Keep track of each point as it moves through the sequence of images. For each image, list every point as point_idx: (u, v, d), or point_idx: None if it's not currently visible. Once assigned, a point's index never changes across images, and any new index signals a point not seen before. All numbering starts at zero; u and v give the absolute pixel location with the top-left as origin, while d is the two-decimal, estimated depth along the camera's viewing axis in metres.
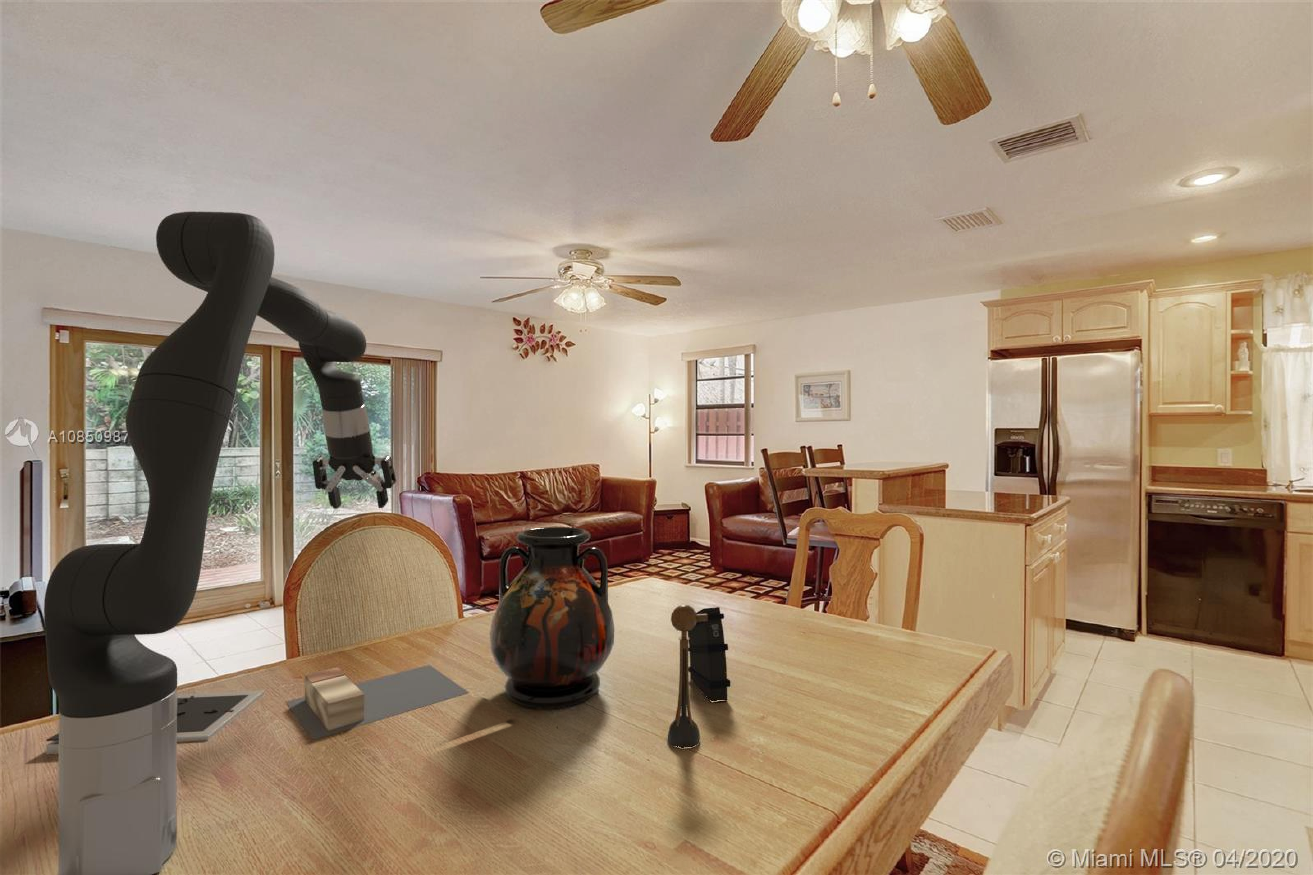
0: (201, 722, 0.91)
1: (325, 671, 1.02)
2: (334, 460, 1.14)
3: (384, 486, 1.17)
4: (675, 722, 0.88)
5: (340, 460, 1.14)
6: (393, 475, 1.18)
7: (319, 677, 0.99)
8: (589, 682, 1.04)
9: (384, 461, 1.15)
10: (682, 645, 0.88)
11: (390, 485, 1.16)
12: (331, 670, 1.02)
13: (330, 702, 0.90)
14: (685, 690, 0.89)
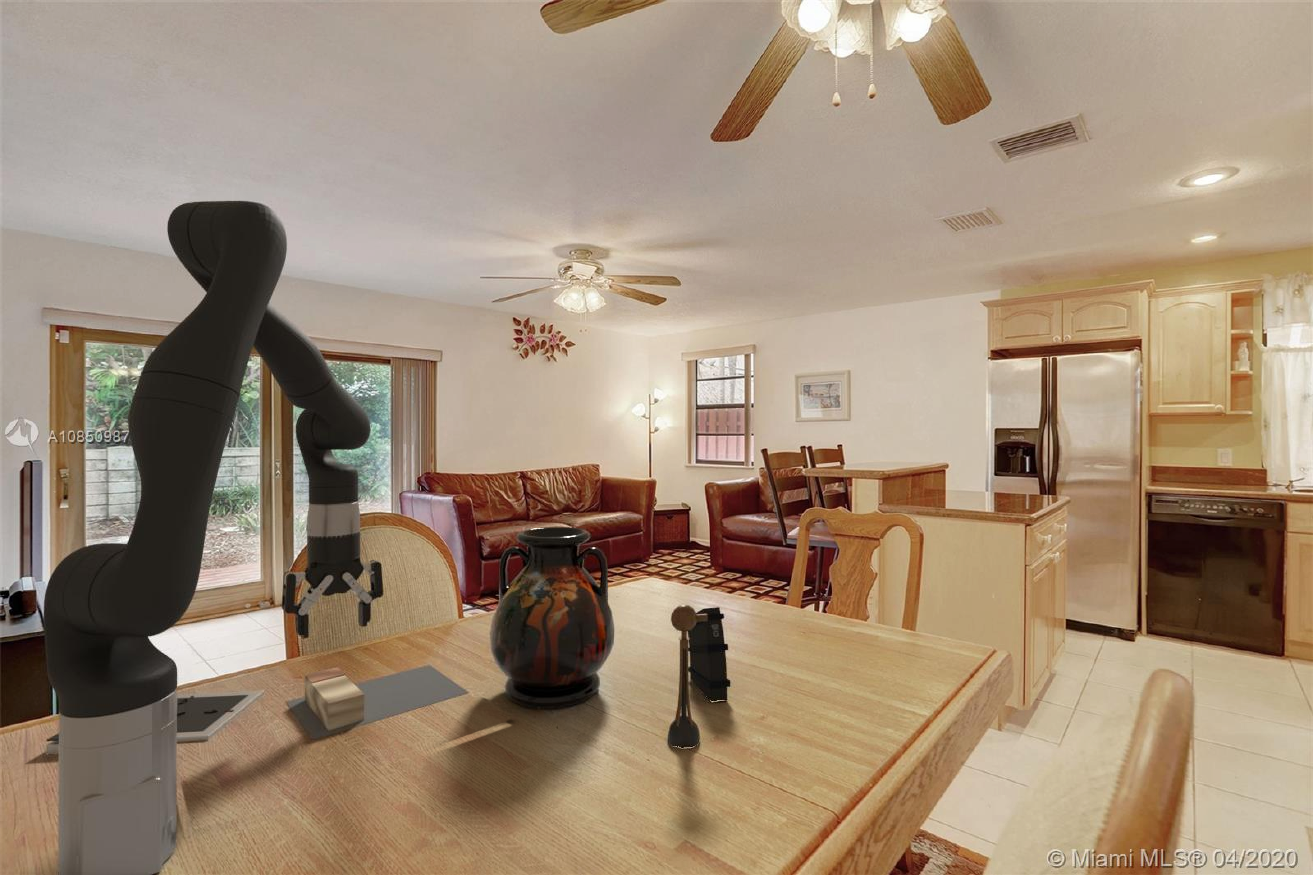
0: (201, 722, 0.91)
1: (325, 671, 1.02)
2: (316, 570, 0.94)
3: (372, 596, 1.00)
4: (675, 722, 0.88)
5: (324, 569, 0.95)
6: None
7: (319, 677, 0.99)
8: (589, 682, 1.04)
9: (378, 563, 1.00)
10: (682, 645, 0.88)
11: (381, 593, 1.01)
12: (331, 670, 1.02)
13: (330, 702, 0.90)
14: (685, 690, 0.89)
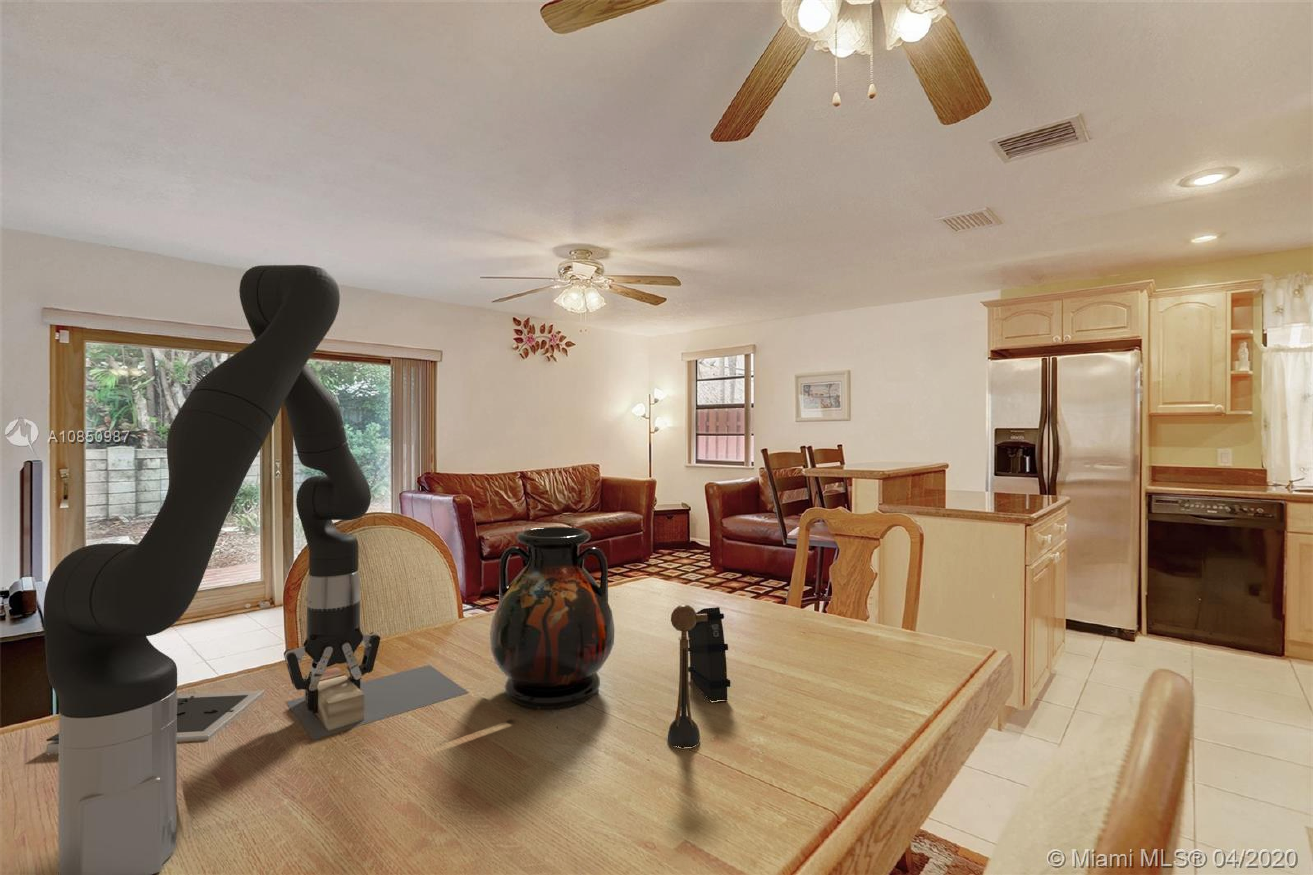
0: (201, 722, 0.91)
1: (325, 671, 1.02)
2: (314, 642, 0.94)
3: (361, 672, 0.99)
4: (675, 722, 0.88)
5: (324, 641, 0.95)
6: None
7: None
8: (589, 682, 1.04)
9: (378, 637, 1.00)
10: (682, 645, 0.88)
11: (371, 668, 0.99)
12: (331, 670, 1.02)
13: (330, 702, 0.90)
14: (685, 690, 0.89)
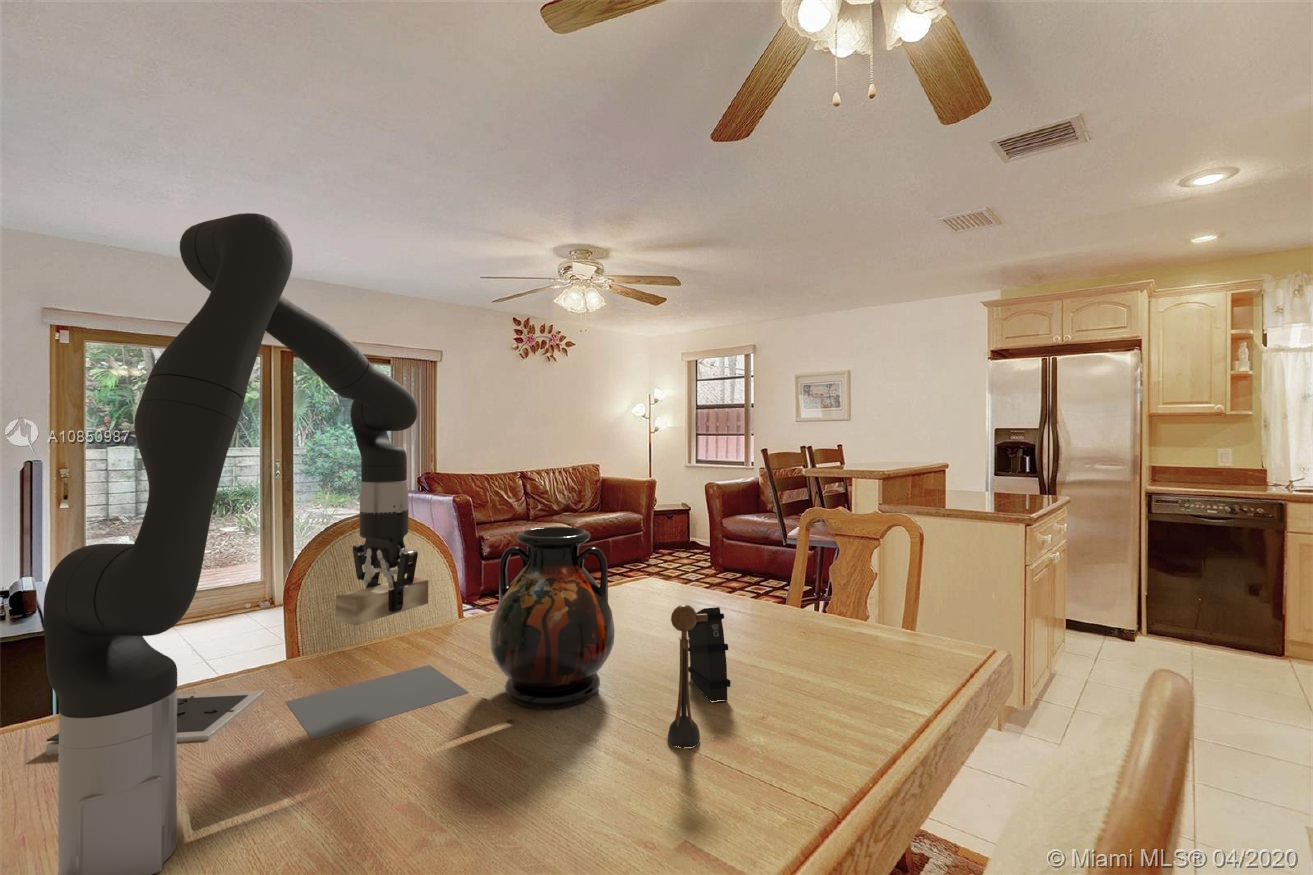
0: (201, 722, 0.91)
1: (417, 579, 1.07)
2: (367, 541, 1.02)
3: None
4: (675, 722, 0.88)
5: (372, 542, 1.02)
6: (411, 575, 1.00)
7: None
8: (589, 682, 1.04)
9: (403, 555, 0.98)
10: (682, 645, 0.89)
11: (399, 584, 0.98)
12: (419, 579, 1.07)
13: (339, 595, 0.97)
14: (685, 690, 0.89)
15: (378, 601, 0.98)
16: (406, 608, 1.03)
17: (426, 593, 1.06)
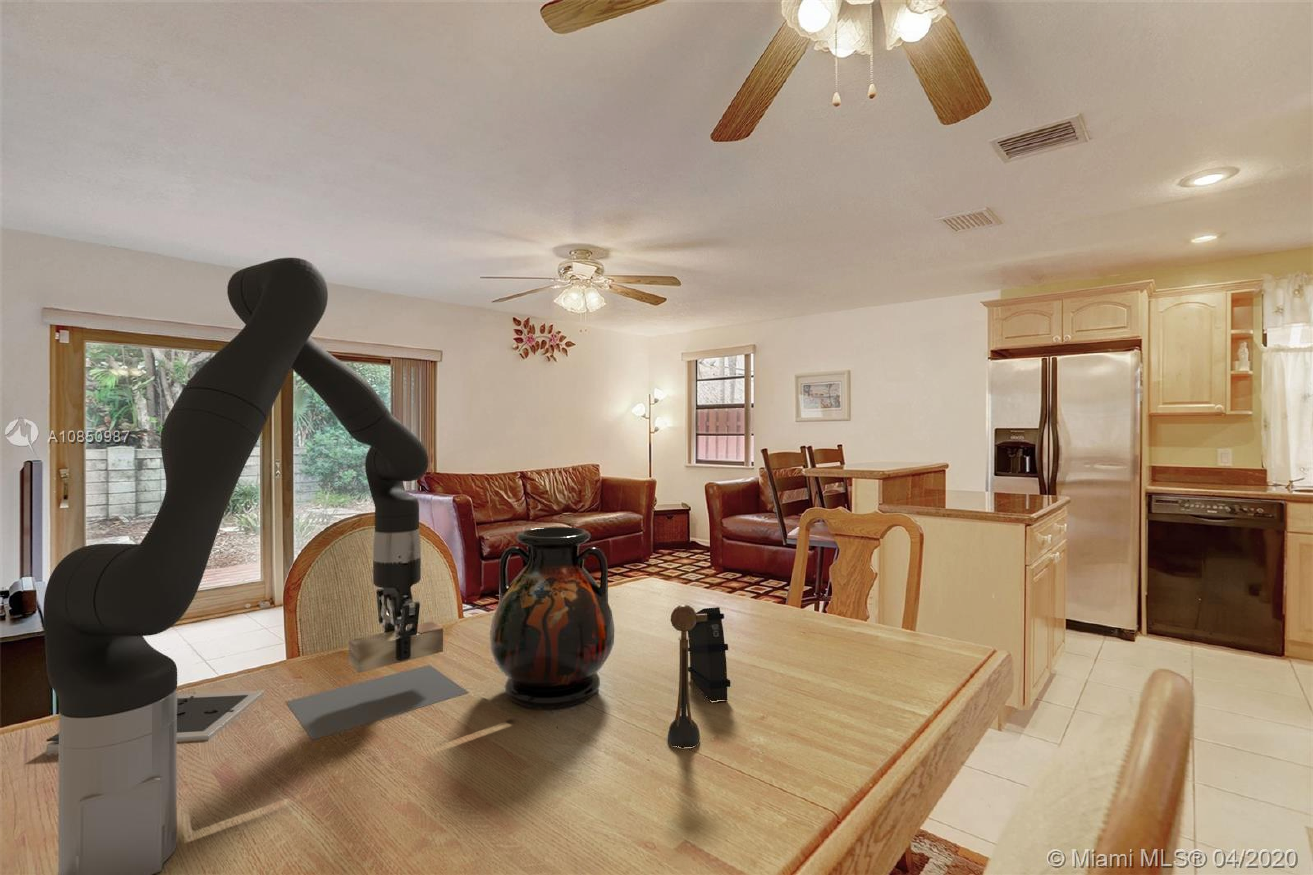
0: (201, 722, 0.91)
1: (434, 625, 1.08)
2: (384, 587, 1.05)
3: None
4: (675, 722, 0.88)
5: (387, 589, 1.04)
6: (415, 626, 1.00)
7: (419, 626, 1.07)
8: (589, 682, 1.04)
9: (403, 606, 0.98)
10: (682, 645, 0.88)
11: (401, 634, 0.99)
12: (435, 627, 1.07)
13: (351, 640, 1.01)
14: (685, 690, 0.89)
15: (384, 650, 1.00)
16: (416, 656, 1.04)
17: (440, 641, 1.06)
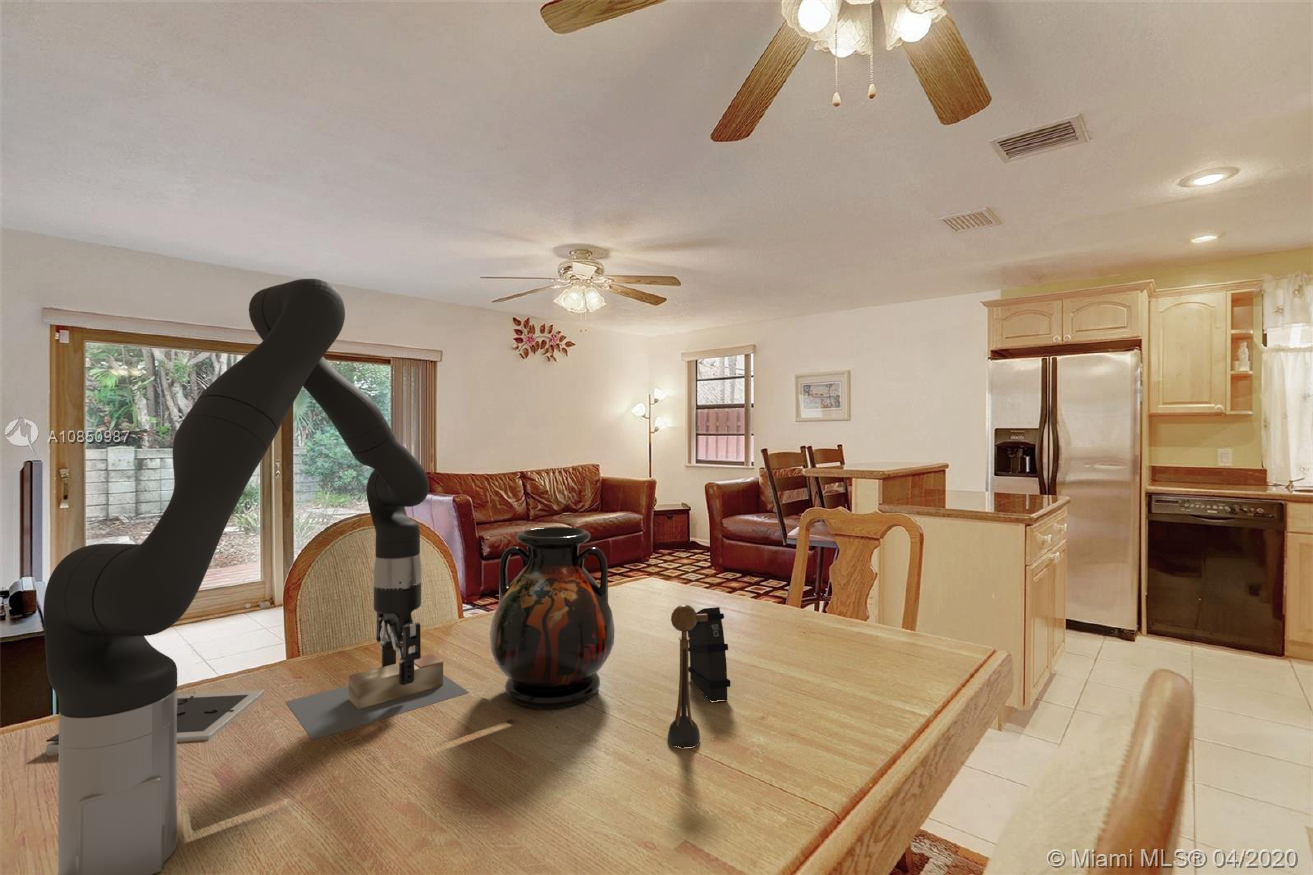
0: (201, 722, 0.91)
1: (434, 659, 1.07)
2: None
3: None
4: (675, 722, 0.88)
5: (387, 614, 1.04)
6: (417, 648, 0.99)
7: (419, 659, 1.07)
8: (589, 682, 1.04)
9: (404, 627, 0.98)
10: (683, 645, 0.88)
11: (405, 659, 0.98)
12: (435, 660, 1.07)
13: (351, 675, 1.01)
14: (685, 690, 0.89)
15: (384, 685, 1.00)
16: (416, 690, 1.03)
17: (440, 675, 1.06)
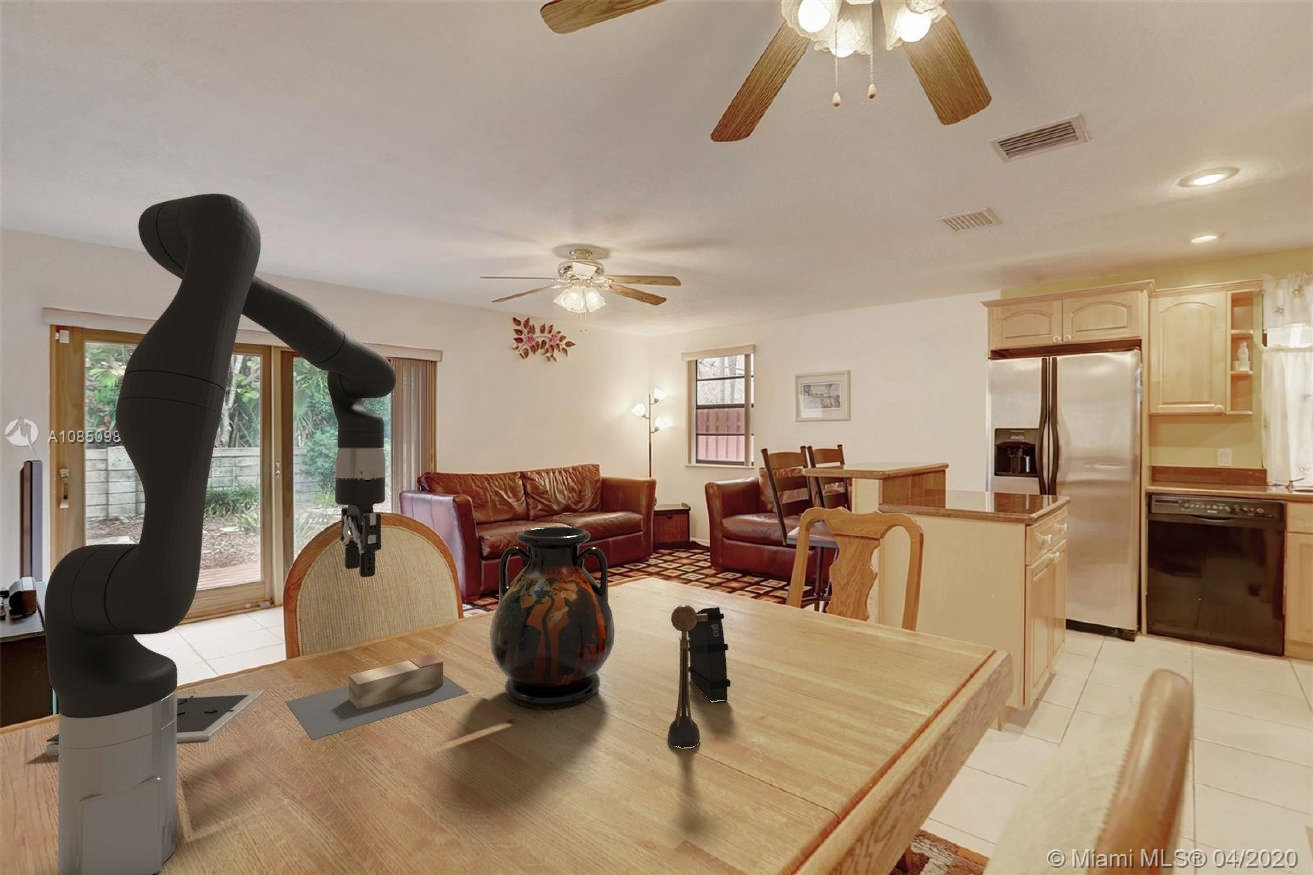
0: (201, 722, 0.91)
1: (434, 659, 1.07)
2: (348, 509, 1.02)
3: None
4: (675, 722, 0.88)
5: (350, 510, 1.02)
6: (378, 538, 0.96)
7: (419, 659, 1.07)
8: (589, 682, 1.04)
9: (363, 515, 0.95)
10: (683, 645, 0.88)
11: (364, 547, 0.95)
12: (435, 660, 1.07)
13: (351, 675, 1.01)
14: (685, 690, 0.89)
15: (384, 685, 1.00)
16: (416, 690, 1.03)
17: (440, 675, 1.06)
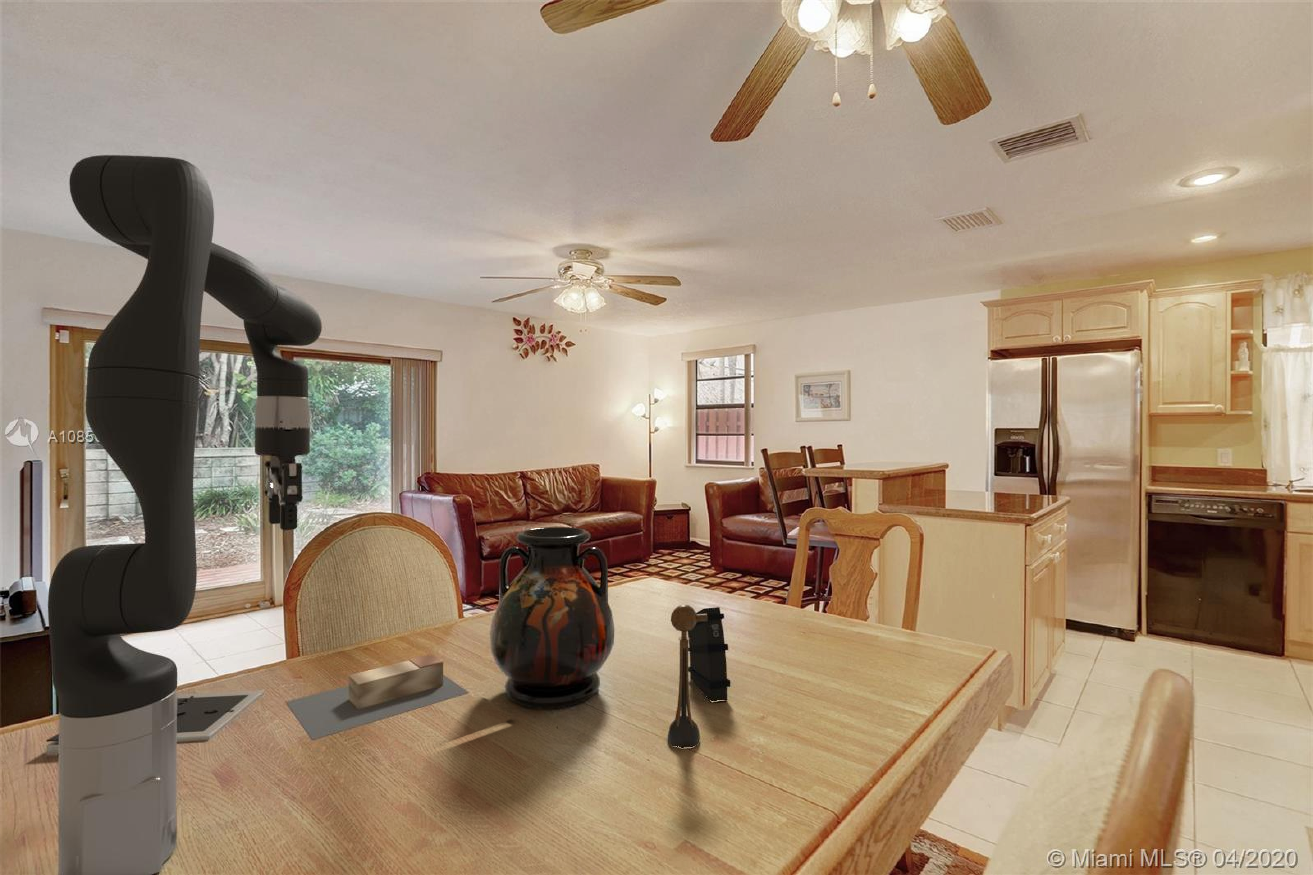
0: (202, 722, 0.91)
1: (434, 659, 1.07)
2: (271, 461, 0.98)
3: None
4: (675, 722, 0.88)
5: (272, 462, 0.98)
6: (298, 490, 0.93)
7: (419, 659, 1.07)
8: (589, 682, 1.04)
9: (282, 465, 0.92)
10: (682, 645, 0.88)
11: (283, 498, 0.91)
12: (435, 660, 1.07)
13: (351, 675, 1.01)
14: (685, 690, 0.89)
15: (384, 685, 1.00)
16: (416, 690, 1.03)
17: (440, 675, 1.06)
